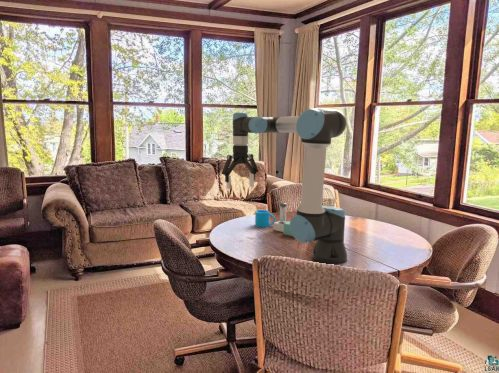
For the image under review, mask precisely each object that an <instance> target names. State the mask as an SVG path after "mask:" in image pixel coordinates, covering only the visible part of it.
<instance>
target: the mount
mask: <svg viewBox="0 0 499 373" xmlns="http://www.w3.org/2000/svg"><path fill="white" fill-rule="evenodd" d="M273 230H274V231H277V232H281V233H283V230H284V224H280V220H279V221H275V223H274V224H273Z"/></svg>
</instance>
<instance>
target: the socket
mask: <svg viewBox="0 0 499 373" xmlns="http://www.w3.org/2000/svg"><path fill="white" fill-rule="evenodd" d="M290 221H291V220H290ZM290 221H289V220H288V221H286V223H284V230H283V232H282V233H283V235H286V236H289V237H294V235H293V234H292V232H291V230H290ZM294 238H295V237H294Z"/></svg>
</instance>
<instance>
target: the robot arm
mask: <svg viewBox="0 0 499 373" xmlns="http://www.w3.org/2000/svg"><path fill="white" fill-rule="evenodd" d="M346 128H347V118H346V116H345V115H344V113H343V112H342V111H340V110H338V109H334V108H317V107H316V108H308V109H305V110H304V111H302V112H301V113H300V115H294V116H293V115H292V116H268V117H267V116H249V113H247V112H233V115H232V144H233V145H232V155H231V154H227V156H226V161H225V163H224V165H223V168H222V171H221V175H223V176H225V177H224V181H225V183H226V189H227V190H231V189H232V187H231V182H232V181H231V179H232V178H231V175H230V174H231V173H232V171H233V170H234V169H235V167H236V166H237V165H243V164H244V165H245V166H246V168H247V170H248V171H249V172H250V173H249V187H252V188H254V187H255V180H256V174H257V173H259V168H258V167H257V164H256V161H255V158H254V154H252V153H249V145H248V144H249V134H255V135H257V134H271V133H272V134H277V133H278V134H279V133H280V134H283V133H284V134H285V133H290V134H291V133H293V134H294V133H296V134H297V135H298V136H299V137H300V139H301V144H302V146H304V153H303V168H302V180H301V181H302V182H301V197H300V204H299V206H297V207H296V211H295V212H296V214H295V215H293V216H292V218H291V219H290V230H291V232H292V234H293V235H294V238H295V240H297V241H298V242H300V243H303V244H304V243H305V244H306V243H312V242H315V241H316V242H315V244H314V247H313V250H312V254H311V256H312V260H315V261H316V262H319V263H323V264H327V265H328V264H330V265H331V264H333V265H334V264H335V265H337V264H338V265H339V264H342V263H346V262H347V261H348V253H347V249H346V246H345V243H344V241H345V226H346V225H345V222H346V211H345V210H344V209H343V208H341V207H338V206H337V207H336V206H330V205H323V198H324V197H323V196H324V183H325V172H326V171H325V170H326V160H327V159H326V158H327V148H328V147H329V146H330V145H332V139H334V138H338V137H339V136H341V135H342V134H344V132H345V130H346ZM248 160H249V161H248Z"/></svg>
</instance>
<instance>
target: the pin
mask: <svg viewBox="0 0 499 373" xmlns="http://www.w3.org/2000/svg"><path fill="white" fill-rule="evenodd" d="M287 206H288V203H287V202H279V221H280V224H284V223H286V222H287Z"/></svg>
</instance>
